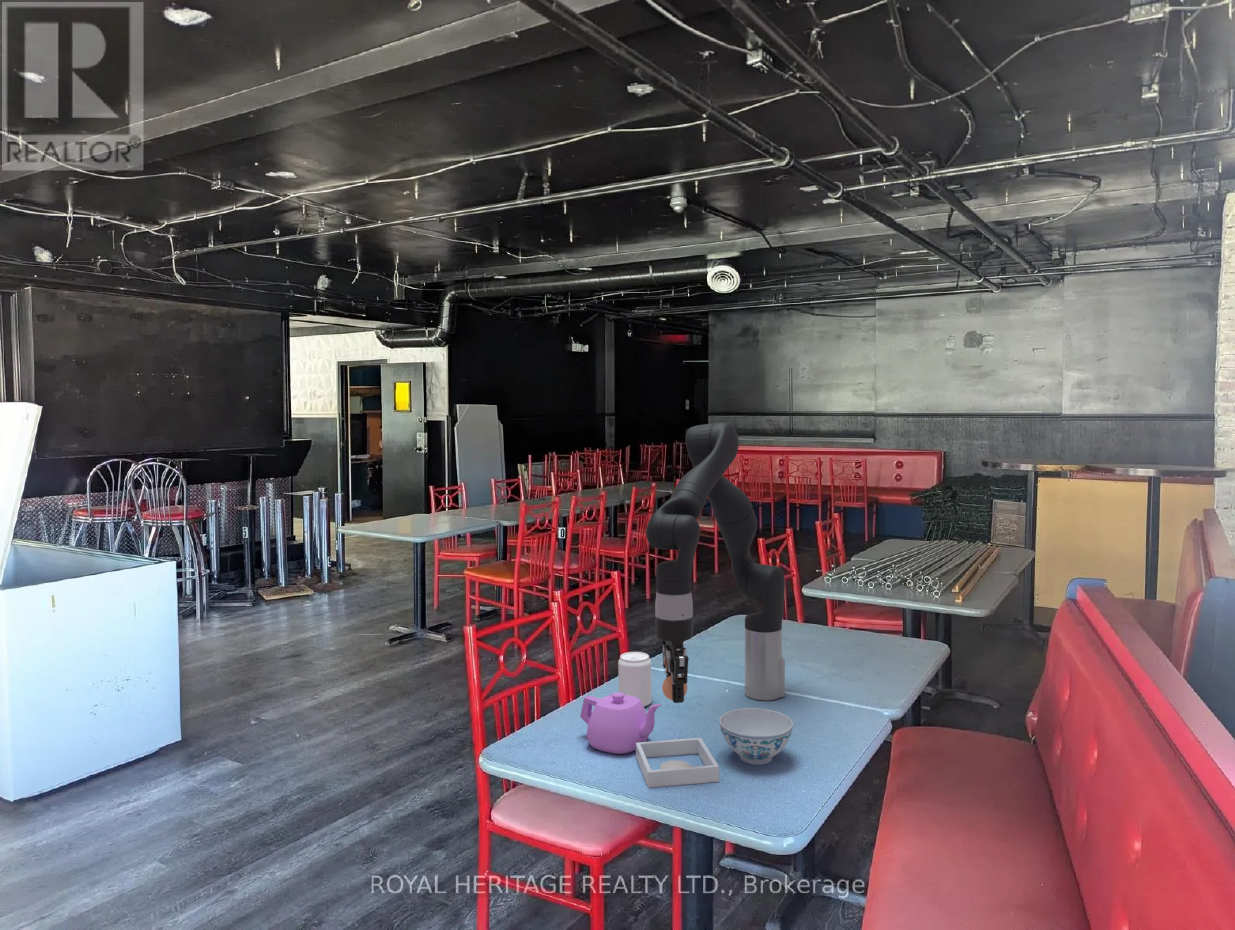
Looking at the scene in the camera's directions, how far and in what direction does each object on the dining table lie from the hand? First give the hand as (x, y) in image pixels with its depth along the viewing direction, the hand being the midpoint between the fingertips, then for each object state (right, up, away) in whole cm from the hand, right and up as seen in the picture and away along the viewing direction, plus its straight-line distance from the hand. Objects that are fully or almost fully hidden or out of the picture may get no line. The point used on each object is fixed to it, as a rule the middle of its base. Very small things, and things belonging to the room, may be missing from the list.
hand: (675, 696), depth 160 cm
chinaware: (+17, -14, +6) cm, 23 cm away
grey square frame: (0, -15, +1) cm, 15 cm away
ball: (0, -1, 0) cm, 1 cm away
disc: (0, -15, +1) cm, 15 cm away
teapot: (-11, -14, +14) cm, 23 cm away
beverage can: (-7, -13, +37) cm, 40 cm away
